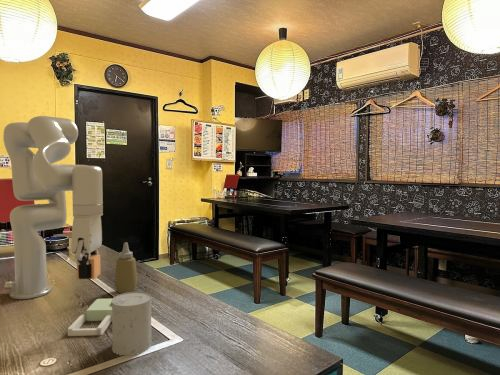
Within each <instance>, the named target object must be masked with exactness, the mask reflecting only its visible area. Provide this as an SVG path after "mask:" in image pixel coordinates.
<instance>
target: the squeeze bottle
mask: <svg viewBox="0 0 500 375" xmlns="http://www.w3.org/2000/svg"><path fill="white" fill-rule="evenodd" d="M129 248H130V246H129V244H128V242H123V247H122V251H121V252H119V253H118V257H119V258H117V259H116V261H115V262H116V263H115V271H114V274H115V275H114V287H115V288H116V292H117V293H118V294H119V295H120V294H123V293H128V292H136V291H135V290H136V288H137V285H138V281H139V280H138V274H137V273H138V271H137V262H136V258H135V257H134V255H133V251H130V249H129Z"/></svg>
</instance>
